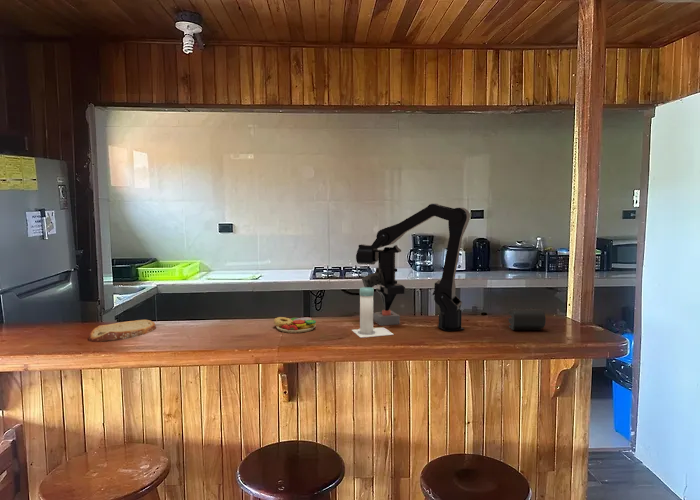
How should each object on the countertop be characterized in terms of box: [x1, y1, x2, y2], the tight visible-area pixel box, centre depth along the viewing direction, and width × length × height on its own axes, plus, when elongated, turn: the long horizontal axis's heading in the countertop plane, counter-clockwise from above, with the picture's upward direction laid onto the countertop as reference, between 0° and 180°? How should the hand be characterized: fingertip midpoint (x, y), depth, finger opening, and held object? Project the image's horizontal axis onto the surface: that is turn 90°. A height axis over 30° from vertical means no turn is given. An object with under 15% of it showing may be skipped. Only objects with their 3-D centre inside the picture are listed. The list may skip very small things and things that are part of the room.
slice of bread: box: [88, 319, 157, 343], centre depth 157 cm, size 18×18×4 cm
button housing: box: [373, 310, 401, 326], centre depth 170 cm, size 7×7×3 cm
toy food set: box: [273, 316, 317, 334], centre depth 163 cm, size 13×13×3 cm
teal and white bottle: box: [359, 286, 375, 334], centre depth 156 cm, size 4×4×14 cm
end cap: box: [508, 307, 547, 331], centre depth 161 cm, size 10×7×7 cm
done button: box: [381, 309, 392, 316], centre depth 170 cm, size 3×3×4 cm
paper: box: [351, 327, 395, 339], centre depth 157 cm, size 11×9×1 cm
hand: (386, 310), depth 170 cm, fingers closed, pressing on done button
